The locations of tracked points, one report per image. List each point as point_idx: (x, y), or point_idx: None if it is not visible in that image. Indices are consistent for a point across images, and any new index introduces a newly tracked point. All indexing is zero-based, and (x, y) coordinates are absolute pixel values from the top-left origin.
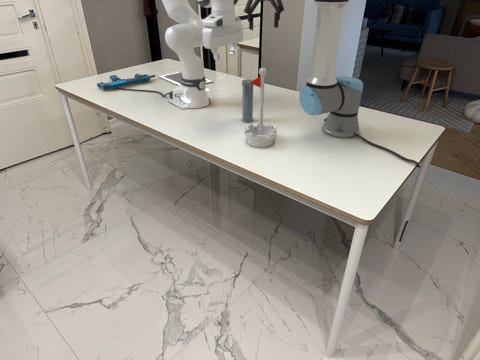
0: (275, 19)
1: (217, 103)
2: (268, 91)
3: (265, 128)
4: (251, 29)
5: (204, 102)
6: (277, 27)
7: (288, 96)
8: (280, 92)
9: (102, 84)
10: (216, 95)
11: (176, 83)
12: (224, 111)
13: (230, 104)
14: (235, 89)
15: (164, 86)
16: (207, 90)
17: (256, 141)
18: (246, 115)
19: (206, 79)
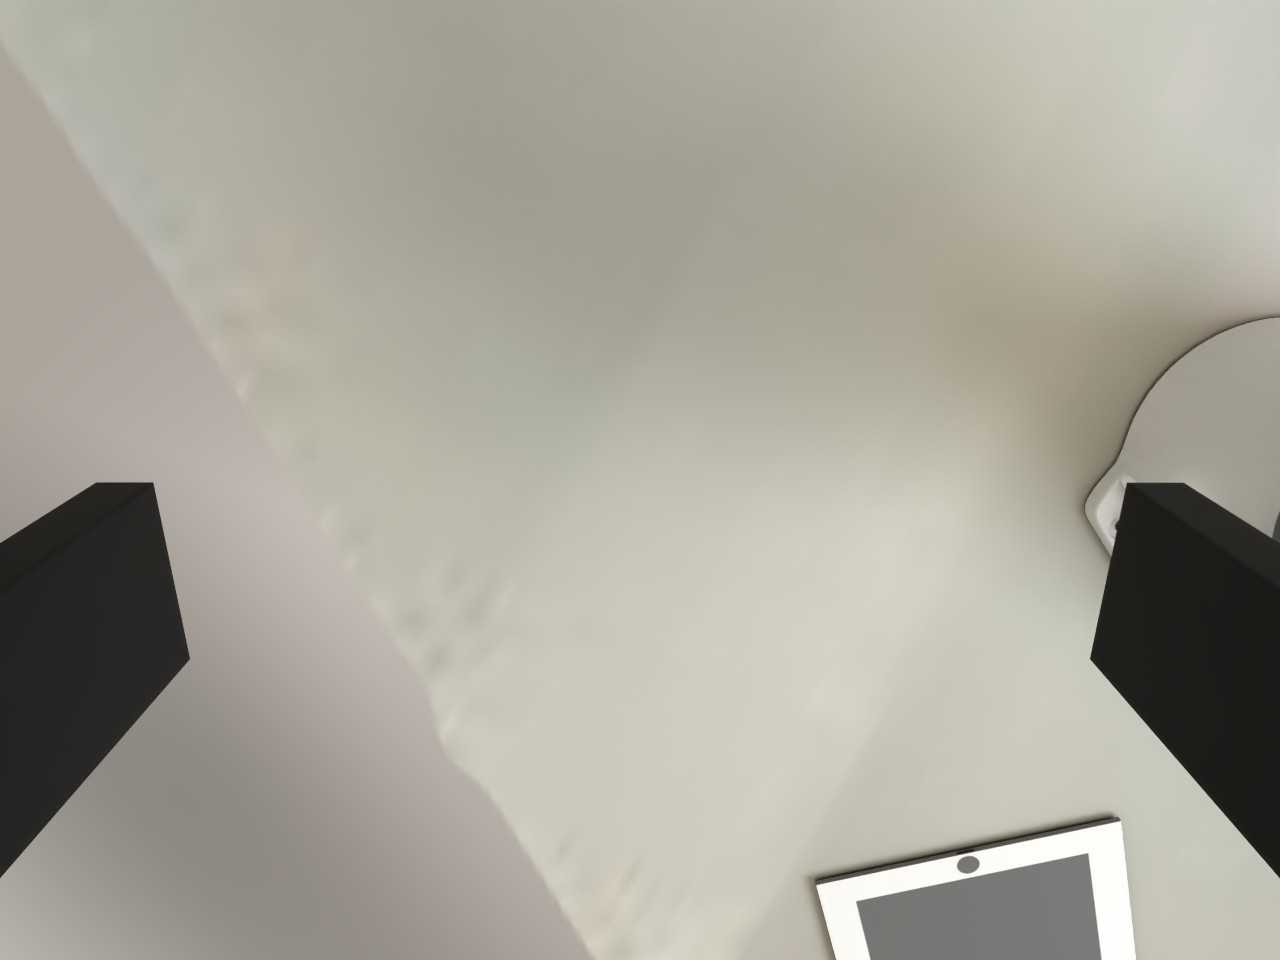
0: (4, 755)
1: (1072, 366)
2: (449, 459)
3: None
4: (1191, 504)
5: (1249, 349)
6: (114, 488)
7: (316, 232)
8: (344, 380)
9: None
10: (965, 565)
11: (1123, 945)
12: (1136, 126)
13: (979, 284)
14: (723, 638)
15: (1230, 932)
16: None
17: None
18: None
19: (844, 943)
